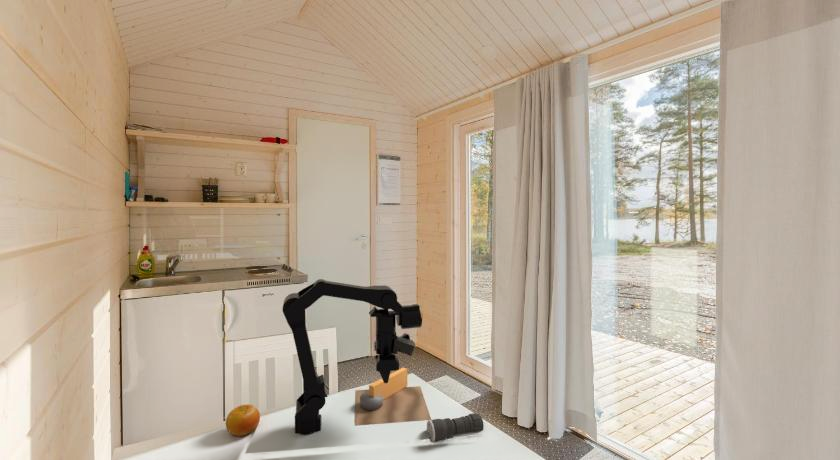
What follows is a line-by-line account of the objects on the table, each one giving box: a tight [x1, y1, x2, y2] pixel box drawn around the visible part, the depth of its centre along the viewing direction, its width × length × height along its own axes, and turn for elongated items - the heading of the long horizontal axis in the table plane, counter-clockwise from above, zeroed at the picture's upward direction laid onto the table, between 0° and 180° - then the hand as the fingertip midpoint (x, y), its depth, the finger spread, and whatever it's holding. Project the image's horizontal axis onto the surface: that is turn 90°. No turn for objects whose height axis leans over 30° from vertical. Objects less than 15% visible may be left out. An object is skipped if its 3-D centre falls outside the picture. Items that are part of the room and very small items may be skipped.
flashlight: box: [426, 412, 484, 443], centre depth 112 cm, size 15×5×5 cm, turn 109°
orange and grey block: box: [360, 367, 408, 410], centre depth 131 cm, size 20×7×6 cm, turn 144°
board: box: [354, 385, 432, 426], centre depth 126 cm, size 22×22×2 cm
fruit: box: [225, 404, 261, 437], centre depth 113 cm, size 9×9×8 cm
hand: (385, 382), depth 118 cm, fingers closed
